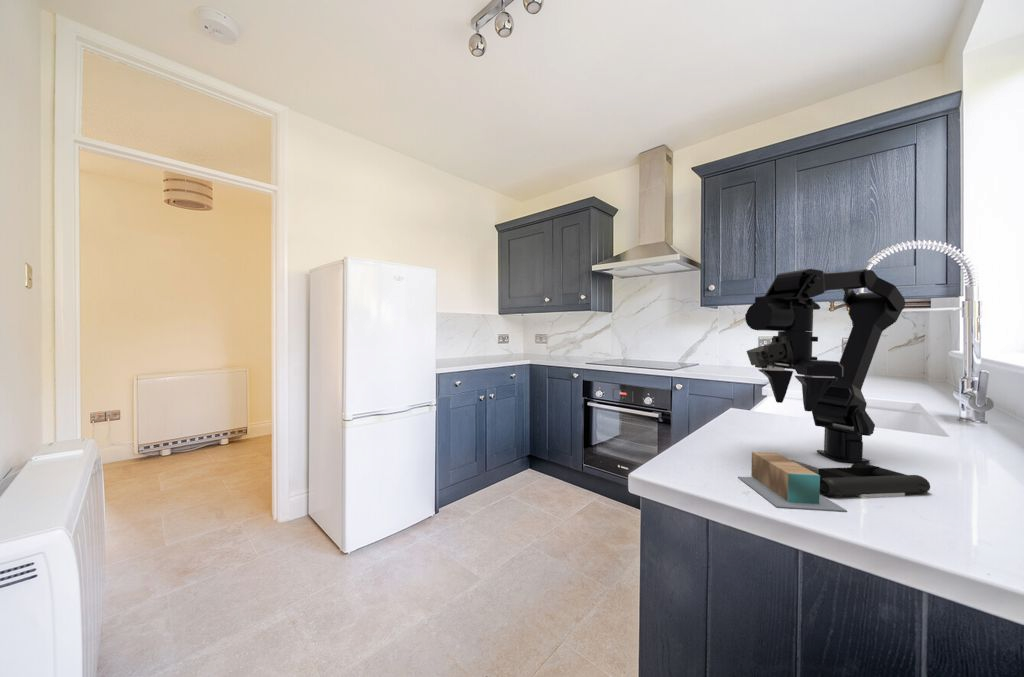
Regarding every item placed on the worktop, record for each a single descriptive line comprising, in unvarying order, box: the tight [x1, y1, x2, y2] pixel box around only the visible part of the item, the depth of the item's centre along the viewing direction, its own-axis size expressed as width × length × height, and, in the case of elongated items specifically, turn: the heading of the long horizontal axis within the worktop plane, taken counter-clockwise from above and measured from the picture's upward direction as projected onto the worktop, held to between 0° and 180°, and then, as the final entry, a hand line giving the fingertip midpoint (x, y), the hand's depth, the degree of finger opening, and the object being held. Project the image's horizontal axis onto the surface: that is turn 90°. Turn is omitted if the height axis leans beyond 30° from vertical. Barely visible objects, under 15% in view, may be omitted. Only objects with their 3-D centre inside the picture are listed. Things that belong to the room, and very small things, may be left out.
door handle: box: [790, 459, 931, 499], centre depth 69 cm, size 3×20×16 cm
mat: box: [737, 476, 848, 513], centre depth 63 cm, size 12×10×1 cm
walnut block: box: [750, 451, 821, 504], centre depth 64 cm, size 4×4×11 cm
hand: (792, 406), depth 77 cm, fingers open, 9 cm apart
